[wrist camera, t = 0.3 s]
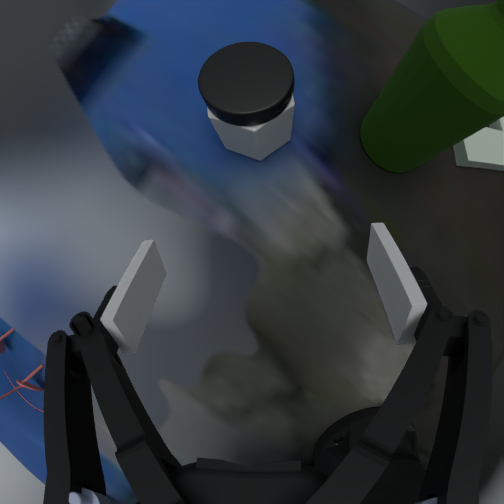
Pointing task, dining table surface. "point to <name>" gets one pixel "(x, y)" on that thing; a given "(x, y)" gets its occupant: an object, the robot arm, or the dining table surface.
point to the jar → (249, 97)
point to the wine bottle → (439, 89)
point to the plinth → (483, 148)
